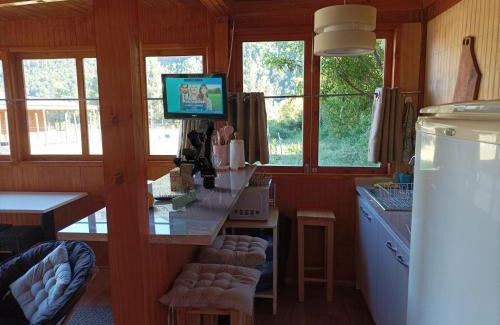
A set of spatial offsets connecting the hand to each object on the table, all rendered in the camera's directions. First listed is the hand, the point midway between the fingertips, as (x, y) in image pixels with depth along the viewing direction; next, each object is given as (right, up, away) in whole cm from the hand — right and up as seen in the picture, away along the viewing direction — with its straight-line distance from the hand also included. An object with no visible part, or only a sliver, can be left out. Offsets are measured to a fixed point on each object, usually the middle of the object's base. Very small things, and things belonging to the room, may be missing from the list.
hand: (185, 176), depth 185 cm
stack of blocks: (-9, -8, +40) cm, 41 cm away
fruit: (-20, -16, -5) cm, 26 cm away
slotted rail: (0, -14, 0) cm, 14 cm away
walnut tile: (+1, -6, +2) cm, 7 cm away
